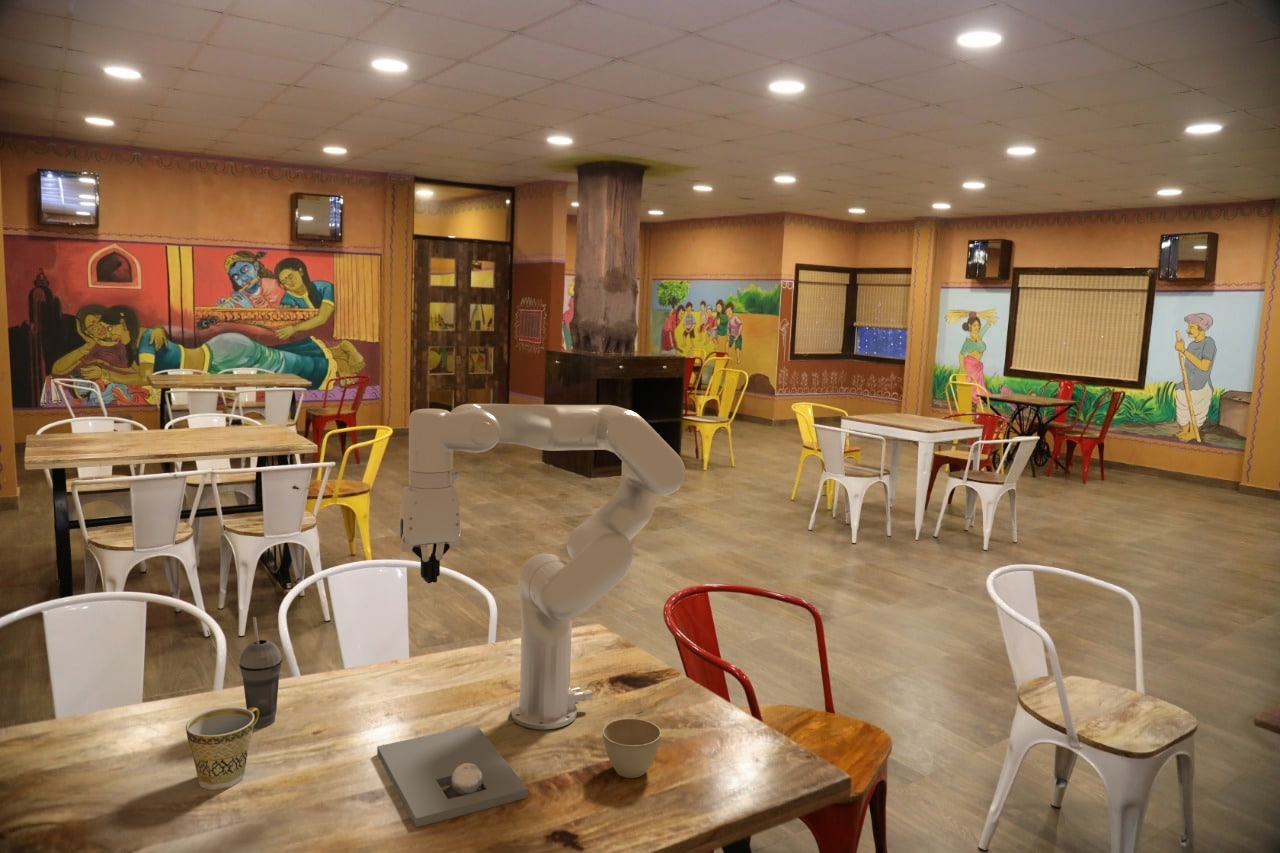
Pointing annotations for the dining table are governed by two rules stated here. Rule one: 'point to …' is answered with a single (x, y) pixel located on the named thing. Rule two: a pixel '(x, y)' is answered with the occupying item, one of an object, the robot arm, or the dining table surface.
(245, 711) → the ceramic cup
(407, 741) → the grey flat plate
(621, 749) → the flower pot
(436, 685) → the dining table surface
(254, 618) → the beverage cup
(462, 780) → the ball
